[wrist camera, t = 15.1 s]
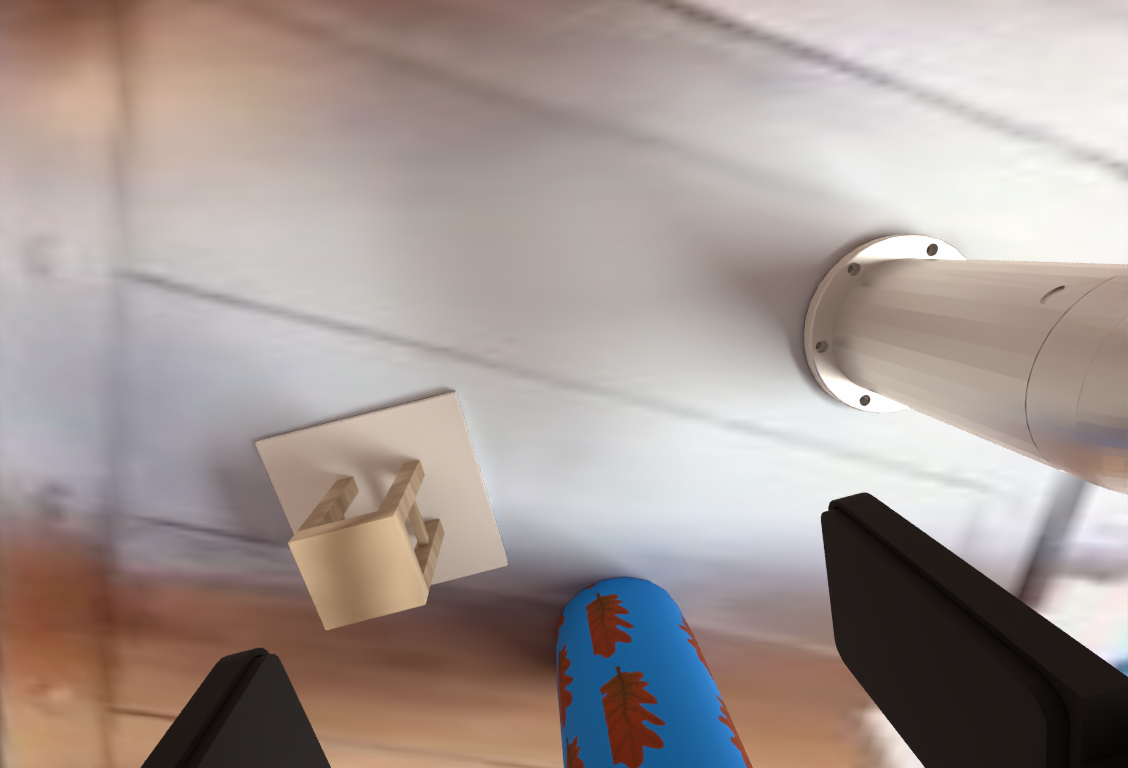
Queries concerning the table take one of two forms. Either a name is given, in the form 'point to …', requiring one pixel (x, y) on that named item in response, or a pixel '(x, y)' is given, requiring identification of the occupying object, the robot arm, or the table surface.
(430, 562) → the stool
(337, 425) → the mat
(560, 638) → the thermos
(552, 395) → the table surface
